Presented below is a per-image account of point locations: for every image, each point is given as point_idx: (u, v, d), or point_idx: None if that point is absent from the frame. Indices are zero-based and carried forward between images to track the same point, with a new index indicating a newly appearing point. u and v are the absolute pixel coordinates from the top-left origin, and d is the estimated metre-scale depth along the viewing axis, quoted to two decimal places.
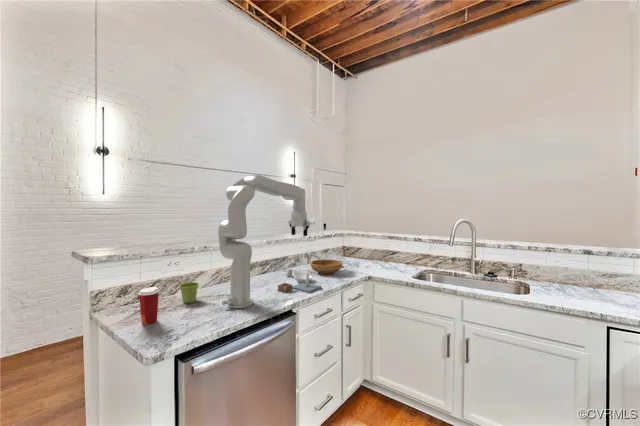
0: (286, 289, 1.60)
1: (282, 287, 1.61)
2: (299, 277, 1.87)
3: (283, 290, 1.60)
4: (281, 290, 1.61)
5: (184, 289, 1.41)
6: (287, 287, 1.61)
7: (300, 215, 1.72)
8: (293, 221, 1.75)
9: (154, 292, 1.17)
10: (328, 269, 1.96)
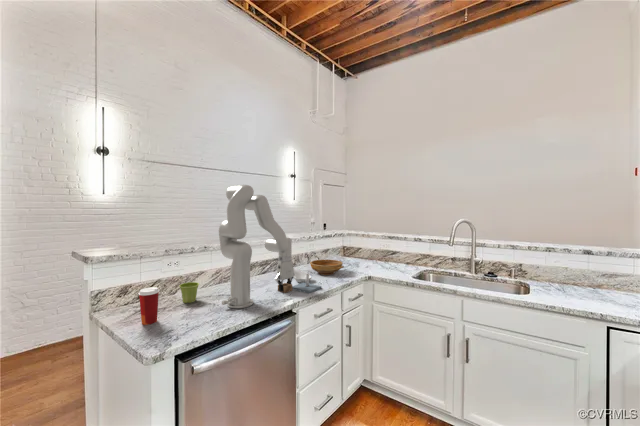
0: (286, 289, 1.60)
1: None
2: (299, 277, 1.87)
3: (283, 290, 1.60)
4: None
5: (184, 289, 1.41)
6: (287, 287, 1.61)
7: (292, 265, 1.64)
8: (285, 274, 1.60)
9: (154, 292, 1.17)
10: (328, 269, 1.96)
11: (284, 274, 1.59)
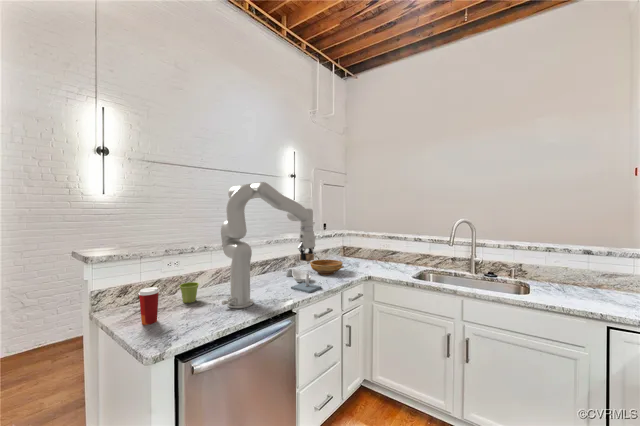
0: (308, 258, 1.65)
1: None
2: (298, 277, 1.87)
3: None
4: None
5: (184, 289, 1.41)
6: (309, 256, 1.66)
7: (313, 235, 1.69)
8: (307, 243, 1.65)
9: (154, 292, 1.17)
10: (328, 269, 1.96)
11: (306, 243, 1.64)
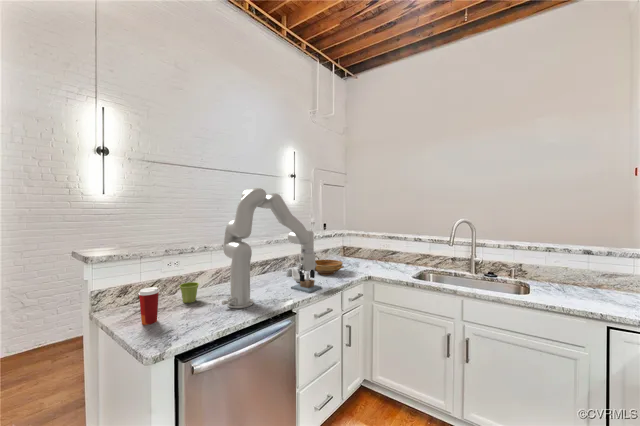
0: (309, 284, 1.66)
1: (305, 282, 1.66)
2: (298, 277, 1.88)
3: (306, 285, 1.65)
4: (304, 285, 1.66)
5: (184, 289, 1.41)
6: (310, 282, 1.66)
7: (314, 257, 1.70)
8: (308, 266, 1.65)
9: (154, 292, 1.17)
10: (328, 269, 1.96)
11: (307, 266, 1.64)
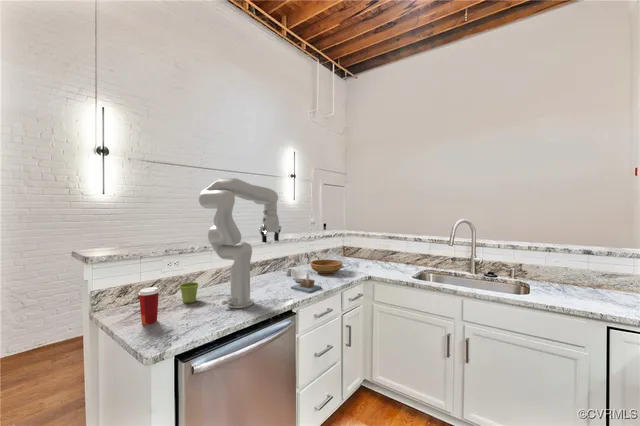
0: (309, 284, 1.66)
1: (305, 282, 1.66)
2: (297, 276, 1.88)
3: (306, 285, 1.65)
4: (304, 285, 1.66)
5: (184, 289, 1.41)
6: (310, 282, 1.66)
7: (277, 219, 1.68)
8: (270, 227, 1.64)
9: (154, 292, 1.17)
10: (328, 269, 1.96)
11: (269, 227, 1.63)
